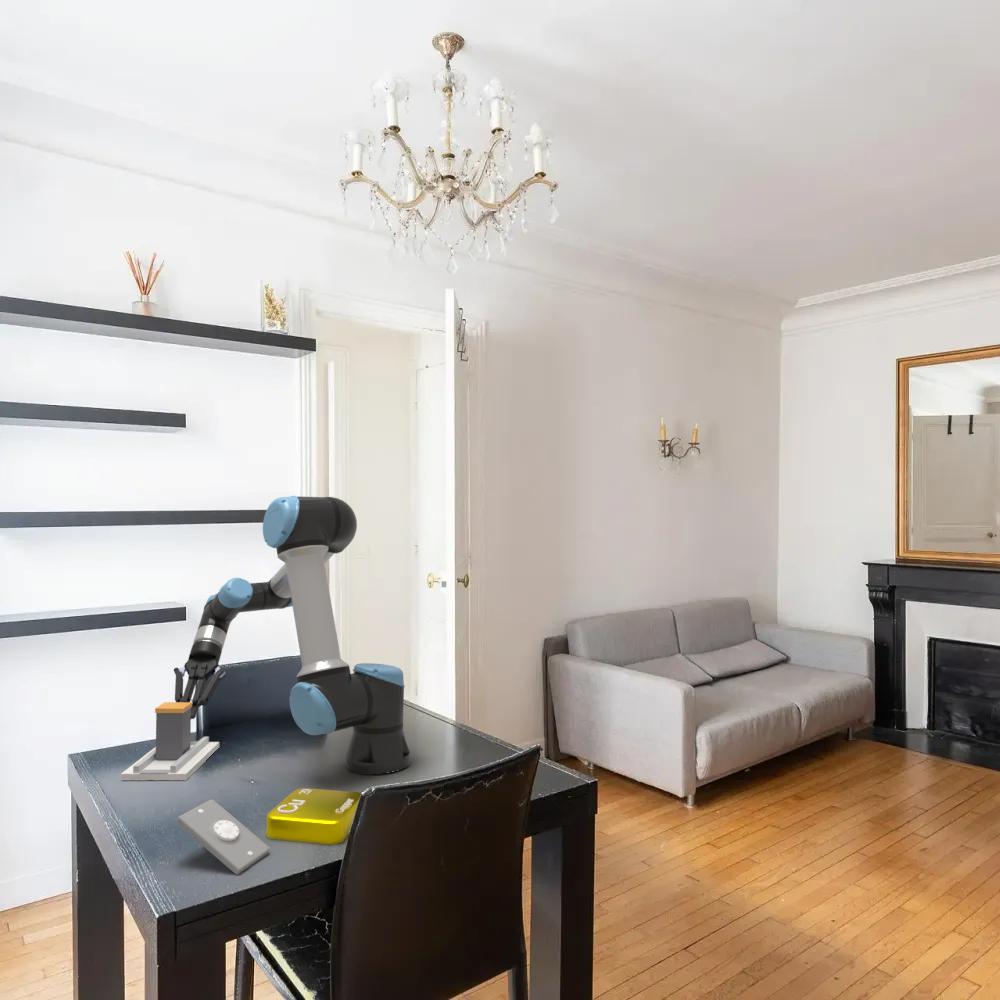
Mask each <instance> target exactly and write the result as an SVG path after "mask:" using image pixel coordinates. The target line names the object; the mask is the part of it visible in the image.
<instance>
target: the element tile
mask: <svg viewBox="0 0 1000 1000" xmlns="http://www.w3.org/2000/svg"><path fill="white" fill-rule="evenodd" d="M361 793H362V792H357V791H345V790H333V789H323V788H322V789H321V788H310V787H308V788H307V787H299V788H297V789H295V790H293V791H292V792H291V793H289V794H288V796H286V797H285V798H284V799H283V800H282V801H280V802H279V803H278V804H277V805H276V806H275V807H274V808H272V809H271V810H269V812H268V813H267V814H266V826H265V827H266V834H265V835H266V837H267V839H268V838H269V839H271V840H272V839H273V840H278V841H288V842H290V841H291V842H299V843H300V842H302V843H309V844H323V845H337V844H341V843H342V842H344V841H345V840H346V839H347V837H348V836H349V835H348V833H349V830H350V827H351V824H352V821H353V818H354V814H355V810H356V807H357V804H358V801H359V798H360V795H361Z"/></svg>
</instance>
